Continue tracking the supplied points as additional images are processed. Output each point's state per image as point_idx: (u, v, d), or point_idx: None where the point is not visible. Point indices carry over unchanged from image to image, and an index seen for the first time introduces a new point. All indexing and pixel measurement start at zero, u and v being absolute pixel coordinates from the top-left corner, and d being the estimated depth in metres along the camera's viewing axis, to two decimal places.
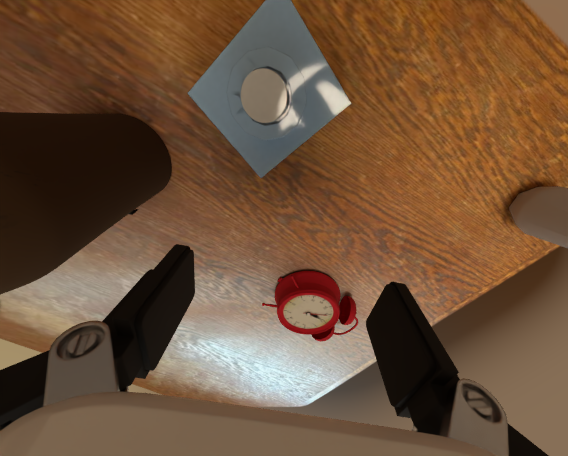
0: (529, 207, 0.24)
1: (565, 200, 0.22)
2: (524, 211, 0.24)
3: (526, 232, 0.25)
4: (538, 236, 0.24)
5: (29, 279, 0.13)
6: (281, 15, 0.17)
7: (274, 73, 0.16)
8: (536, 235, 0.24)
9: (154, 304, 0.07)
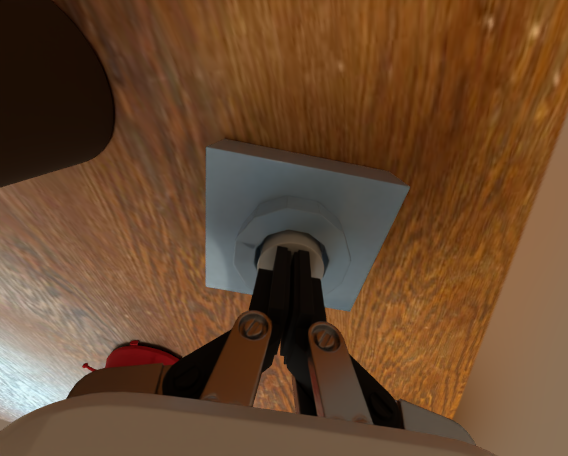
0: None
1: None
2: None
3: None
4: None
5: None
6: (379, 207, 0.12)
7: (322, 266, 0.12)
8: None
9: (288, 297, 0.08)
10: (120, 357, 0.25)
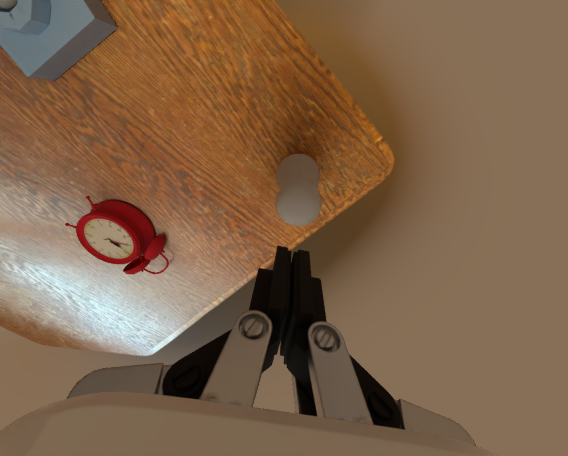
0: (278, 166, 0.28)
1: (291, 160, 0.26)
2: (277, 170, 0.28)
3: None
4: None
5: None
6: None
7: None
8: None
9: None
10: None
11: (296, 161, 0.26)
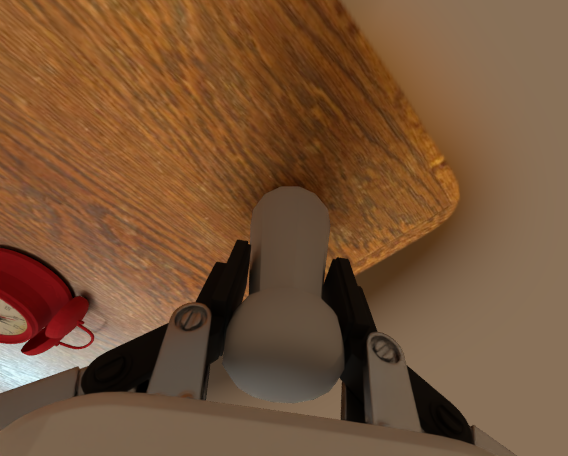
0: (255, 209, 0.15)
1: (276, 204, 0.13)
2: (252, 215, 0.16)
3: None
4: None
5: None
6: None
7: None
8: None
9: (236, 290, 0.08)
10: None
11: (286, 207, 0.13)
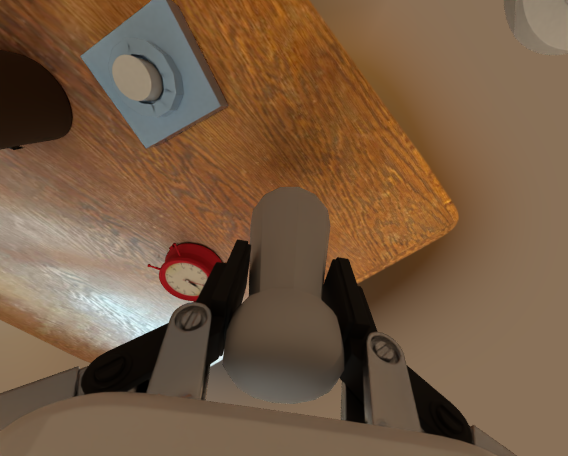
0: (254, 210, 0.15)
1: (276, 205, 0.13)
2: (252, 215, 0.16)
3: None
4: None
5: None
6: (163, 18, 0.21)
7: (140, 62, 0.20)
8: None
9: (236, 289, 0.08)
10: (167, 257, 0.37)
11: (285, 208, 0.13)
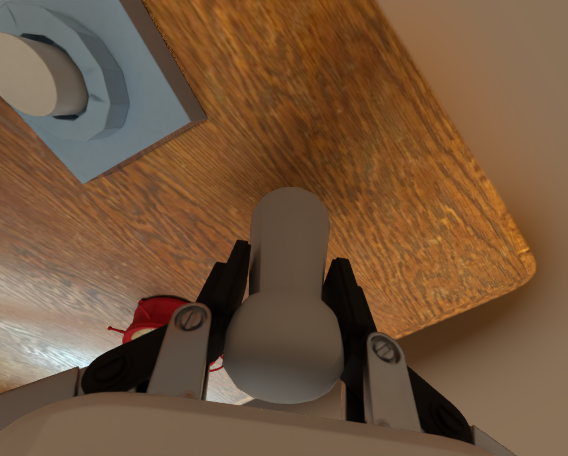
0: (254, 210, 0.15)
1: (276, 205, 0.13)
2: (252, 215, 0.16)
3: None
4: None
5: None
6: None
7: (27, 46, 0.11)
8: None
9: (236, 289, 0.08)
10: (135, 315, 0.28)
11: (285, 208, 0.13)
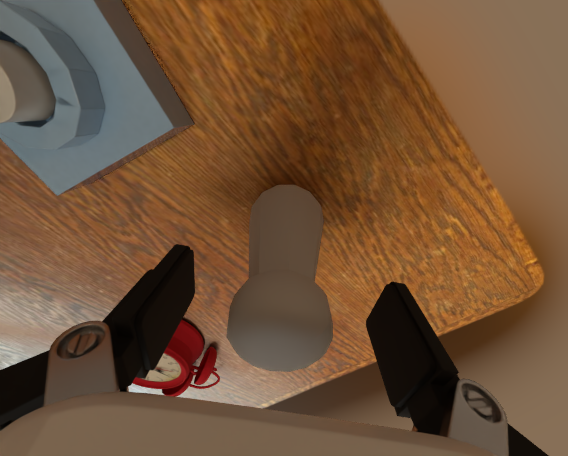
0: (253, 206, 0.16)
1: (273, 201, 0.14)
2: (251, 211, 0.17)
3: None
4: None
5: None
6: None
7: None
8: None
9: (154, 304, 0.07)
10: None
11: (282, 203, 0.14)
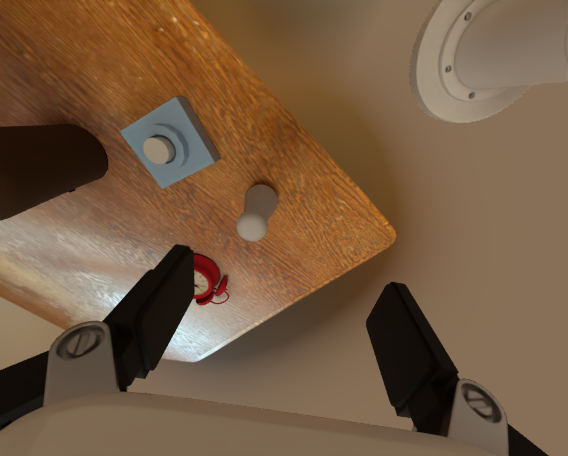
0: (246, 194, 0.38)
1: (254, 191, 0.36)
2: None
3: None
4: None
5: None
6: (176, 110, 0.32)
7: (161, 142, 0.31)
8: None
9: (154, 304, 0.07)
10: None
11: (257, 192, 0.35)
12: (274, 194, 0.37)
